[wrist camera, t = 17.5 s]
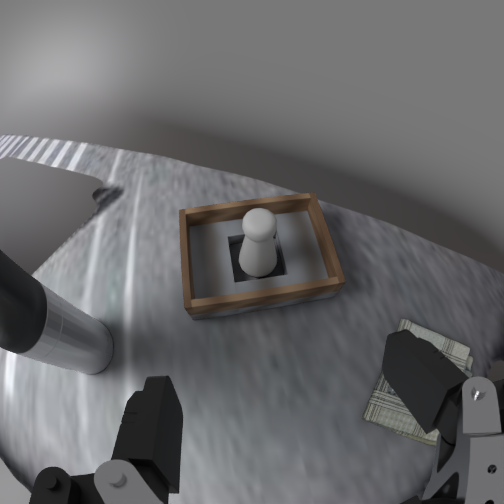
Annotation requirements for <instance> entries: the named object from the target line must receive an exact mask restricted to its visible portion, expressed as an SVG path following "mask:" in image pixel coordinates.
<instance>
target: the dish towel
mask: <svg viewBox="0 0 504 504" xmlns="http://www.w3.org/2000/svg"><path fill="white" fill-rule="evenodd" d="M403 329H408V330H409V331H411V332H412V333H413V334H414V335H415V336H416V337H417V338H419V337H420V338H422V339H425V340H427V341H429V342H431V343H432V344H433V345H434V346H435V347H436V348H438V349H439V351H441V352H442V353H443V354H444V355H445V357H447V358H449V359H450V360H451V361H452V362H453V363H454V364H455V365H456V366H457V367H458V368H459V369H460V370H461V371H462V372H464V373H465V374H466V375H467V376H468V377H469V378H472V375H473V373H471V372H470V369H471V365H472V362H473V358H472V357H471V356H468V354H469V351H470V348H469V347H467V346H465V345H463V344H460V343H458V342H456V341H454V340H451V339H449V338H446V337H444V336H442V335H440V334H438V333H435V332H433V331H430V330H428V329H426V328H423V327H421V326H419V325H416V324H414V323H412V322H410V321H409V320H408V319H401V321H400V323H399V327H398V330H397V331H400V330H403ZM362 419H363V420H367V421H369V422H371V423H374V424H376V425H378V426H381V427H383V428H386V429H388V430H391V431H393V432H395V433H397V434H400V435H403V436H405V437H408V438H411V439H414V440H417V441H420V442H423V443H425V444H428V445H434V446H436V443H437V437H438V434H439V431H438V430H437V429H436V430H434V431H432V432H430V433H428V434H427V435H426V433H425V432H424V430H423V429H422V428H421V426H420V425H419V424H418V422H417V421H416V419H415V418H414V417H413V415H412V414H411V413H410V411H409V410H408V409H407V407H406V406H405V405H404V403H403V402H402V401H401V399H400V398H399V397H398V395H397V394H396V393H395V391H394V390H393V389H392V387H391V386H390V385H389V383H388V382H387V381H386V379H385V378H384V375H383V371H382V372H381V375H380V377H379V380H378V382H377V384H376V387H375V388H374V391H373V393H372V395H371V398H370V400H369V402H368V404H367V407H366V410H365V412H364V414H363V416H362Z"/></svg>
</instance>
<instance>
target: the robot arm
mask: <svg viewBox="0 0 504 504" xmlns="http://www.w3.org/2000/svg"><path fill="white" fill-rule="evenodd" d="M0 347H1V348H3V349H5V350H8V351H10V352H13V353H16V354H19V355H22V356H25V357H28V358H31V359H34V360H37V361H41V362H44V363H47V364H51V365H54V366H58V367H61V368H65V369H69V370H72V371H76V372H81V373H85V374H96V373H99V372H101V371H102V370H104V369H105V368H106V367H107V365H108V364H109V362H110V360H111V358H112V354H113V340H112V337H111V334H110V332H109V330H108V329H107V328H106V327H105V325H103V324H102V323H101V322H99V321H97V320H96V319H94V318H92V317H91V316H89V315H88V314H86V313H84V312H83V311H81V310H80V309H78V308H77V307H75V306H73V305H72V304H70V303H69V302H67V301H66V300H64V299H63V298H61V297H60V296H58V295H57V294H55V293H54V292H53V291H51V290H50V289H48V288H47V287H45V286H44V285H43V284H41V283H40V282H39V281H37V280H36V279H35V278H33V277H32V276H31V275H29V274H28V273H27V272H26V271H24V270H23V269H22V268H21V267H20V266H18V265H17V264H16V263H15V262H14V261H13V260H11V259H10V258H9V257H8V256H7V255H6V254H4V253H3V252H2V251H1V250H0ZM382 371H383V375H384V378H385V379H386V381H387V382H388V383H389V385H390V386H391V387H392V389H393V390H394V391H395V393H396V394H397V395H398V397H399V398H400V399H401V401H402V402H403V403H404V405H405V406H406V407H407V409H408V410H409V411H410V413H411V414H412V415H413V417H414V418H415V419H416V421H417V422H418V424H419V425H420V426H421V428H422V429H423V430H424V432H425V433H426V435H427V434H428V433H430V432H432V431H434V430H436V429H437V430H438V431H439V434H438V437H437V443H436V451H435V458H434V465H433V471H432V476H431V479H430V482H429V484H428V486H427V488H426V490H425V493H424V495H423V499H422V500H419V498H418V496H417V495H416V496H414V497H412V498H410V499H408V500H407V501H404V502H402V503H400V504H504V379H502V380H500V381H496V382H493V383H492V382H491V381H490V380H488V379H486V378H484V377H472V378H469V377H468V376H467V375H466V374H465V373H464V372H462V371H461V370H460V369H459V368H458V367H457V366H456V365H455V364H454V363H453V362H452V361H451V360H450V359H449V358H447V357H445V355H444V354H443V353H442V352H441V351H439V349H438V348H436V347H435V346H434V345H433V344H432V343H431V342H429V341H427V340H425V339H422V338H420V337H419V338H417V337H416V336H415V335H414V334H413V333H412V332H411V331H409V330H408V329H403V330H400V331H397V332H394V333H391V334H389V335H388V336H387V340H386V346H385V352H384V358H383V363H382ZM121 422H122V424H121V425H120V428H119V432H118V435H117V439H116V443H115V447H114V451H113V455H112V458H111V460H110V461H107V462H105V463H103V464H102V465H100V466H99V467H98V469H97V470H96V472H95V473H92V474H86V475H77V476H70V475H68V474H67V473H66V472H65V471H64V470H63V469H61V468H58V467H48V468H45V469H43V470H42V471H41V472H40V473H39V474H38V476H37V478H36V480H35V484H34V487H33V491H32V494H31V498H30V502H29V504H168V496H169V493H177V494H179V482H180V460H181V443H182V428H183V412H182V407H181V404H180V402H179V399H178V397H177V394H176V392H175V389H174V386H173V384H172V381H171V379H170V377H169V376H153V377H147V379H146V382H145V385H144V389H143V391H135V393H134V394H133V395H132V396H131V397H130V399H129V400H128V401H127V404H126V407H125V411H124V415H123V418H122V421H121Z"/></svg>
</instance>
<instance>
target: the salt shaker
mask: <svg viewBox="0 0 504 504" xmlns="http://www.w3.org/2000/svg"><path fill="white" fill-rule="evenodd" d="M242 228H243V231H244V234H245V238H244V241H243V244H242V247H241V250H240V254H239V263H240V265H241V268H242V270H243V271H244V272H245V273H247V274H248V275H250V276H254V277H256V278H258V277H263V276H266V275H268V274H269V273H271V272H272V271H273V269H274V267H275V266H276V264H277V254H276V249H275V244H274V239H273V236H274V234H275V232H276V230H277V219H276V218H275V216H274V214H273V213H272V212H270V211H269V210H267V209H263V208H255V209H252V210H250V211H248V212H247V213H246V215H245V216H244V218H243V224H242Z"/></svg>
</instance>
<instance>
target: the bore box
mask: <svg viewBox="0 0 504 504" xmlns="http://www.w3.org/2000/svg"><path fill="white" fill-rule="evenodd" d="M255 208H263V209H267V210H269V211H270V212H272V213H273V214H274V216H275V218H276V219H277V230H276V232H275V234H274V236H273V238H276V241H277V245H278V249H279V253H280V258H281V262H282V266H283V270H284V274H285V275H281V276H275V277H269V278H262V279H256V280H249V281H243V282H236V283H234V277H233V270H232V264H231V257H230V250H229V244H235V243H242V242H243V241H244V238H245V234H244V231H243V228H242V224H243V218H244V216H245V215H246V213H247V212H248V211H250V210H252V209H255ZM179 223H180V249H181V268H182V284H183V297H184V308H185V309H186V311H187V312H188V314H189V315H190V316H191V318H192V319H193V320H196V319H204V318H211V317H219V316H226V315H233V314H239V313H246V312H252V311H258V310H265V309H271V308H276V307H282V306H288V305H293V304H299V303H304V302H310V301H315V300H320V299H325V298H330V297H334V296H335V295H336V294H337V292H338V291H339V290H340V289H341V287H342V286H343V285H344V283H345V282H346V281H345V278H344V275H343V272H342V269H341V266H340V263H339V259H338V256H337V253H336V250H335V247H334V245H333V242H332V239H331V236H330V233H329V230H328V227H327V225H326V222H325V219H324V216H323V214H322V211H321V208H320V205H319V203H318V200H317V198H316V195H315V193H306V194H295V195H286V196H277V197H268V198H260V199H252V200H244V201H237V202H229V203H222V204H215V205H208V206H201V207H195V208H189V209H182V210H179Z"/></svg>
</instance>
